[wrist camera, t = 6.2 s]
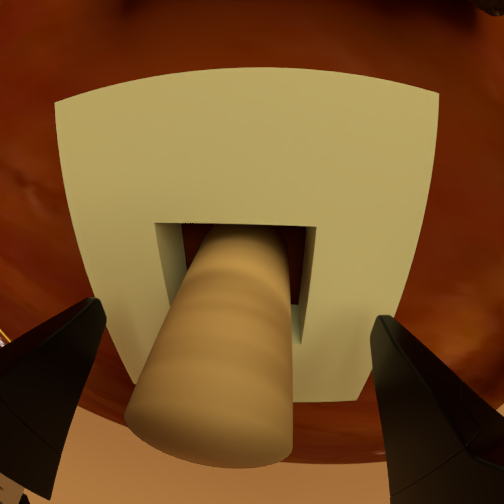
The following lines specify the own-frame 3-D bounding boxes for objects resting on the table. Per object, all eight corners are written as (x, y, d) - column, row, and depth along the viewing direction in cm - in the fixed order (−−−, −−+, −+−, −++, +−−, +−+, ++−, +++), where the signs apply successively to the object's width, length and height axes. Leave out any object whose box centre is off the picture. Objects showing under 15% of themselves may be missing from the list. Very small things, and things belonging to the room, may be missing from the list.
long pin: (285, 292, 13) (284, 471, 6) (205, 288, 13) (150, 454, 6) (290, 216, 11) (305, 413, 4) (198, 213, 11) (97, 384, 4)
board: (405, 93, 8) (439, 93, 6) (350, 364, 15) (356, 400, 13) (93, 98, 9) (54, 102, 7) (147, 351, 16) (133, 383, 14)
